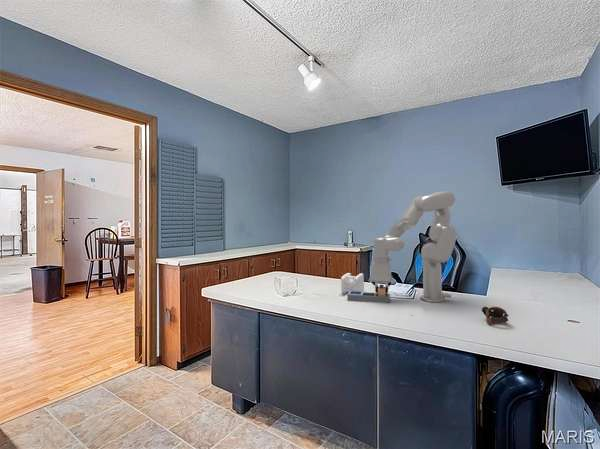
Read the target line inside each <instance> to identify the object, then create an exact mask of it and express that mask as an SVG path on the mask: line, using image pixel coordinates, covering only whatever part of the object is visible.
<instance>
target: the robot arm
mask: <svg viewBox="0 0 600 449" xmlns="http://www.w3.org/2000/svg"><path fill="white" fill-rule="evenodd" d="M455 202H456V195H455V194H454V193H453V192H452V191H449V190H444V191H437V192H433V193H431V194H428V195H419V196H416V197H415V198H414V199H413V200H412V201H411V202H410V204H409V206H408V207H407V209H406V210H405V211H404V214H403V215H402V216H401V218H399V220H397V222H395V223H394V224H393V225H392V226H391V227H390V229H389V230H388V231H387V233H386V234H385V236H384V237H383V236H381V237H375V238H374V239H373V262H372V266H371V267H372V268H371V275H370V277H369V278H368V282H370V283H371V284H372V285H373V286H374V289H375V290H374V291H375V292H374V293H377V294H378V287H379V286H378V283H379V282H382V283H383V282H384V283H385V286H384V287H385V294H386V295H387V293H389V287H390V286H391V285H392V284H394V283H395V282H396V280H395V278H394V277H393V275H392V268H391V263H390V262H391V261H392V258H390V257H389V251H392V252H399V251H401V250H403V249H404V247H405V241H404V240H403V239H402V238H401V236H402V235H403V234H404V233H405V232H407V231H409V230H411V229H413V228H414V227H416V225H418V222H419V221H420V220H421V218H422V216H423V215H424V214H425V212H426V213H427V212H428V213H429V212H433V219H432V222H431V225H430V229H429V232H428V237H429V239H431V240H432V241H434V242H428V243H425V244H424V245H423V246H422V247H421V253H420V255H421V258H422V276H423V277H422V285H423V286H422V287H423V289H422V293H423V294H422V295H420V300H421V301H424V302H427V303H444V302H445V301H446V299H445V298H450V299H451V298H452V294H451V293H446V292H445V293H444V292H443V290H442V288H443V286H442V285H443V280H442V278H443V277H442V274H443V273H442V272H443V270H442V263H446V262H448V261H449V260H450V259H451V256H452V253H453V251H454V247H455V244H456V241H457V231H456V228H455V227H454V226H452V225H450V221H451V218H452V215H451V211H450V207H452V206H453V205H454V204H455ZM435 242H436V243H435Z"/></svg>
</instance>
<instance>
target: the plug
mask: <svg viewBox="0 0 600 449" xmlns="http://www.w3.org/2000/svg"><path fill="white" fill-rule="evenodd" d="M385 287H386V286H385V285H384V284H379V286H378V296H383V297H386V294H385Z"/></svg>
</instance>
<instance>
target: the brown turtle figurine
mask: <svg viewBox="0 0 600 449" xmlns="http://www.w3.org/2000/svg"><path fill="white" fill-rule="evenodd" d="M481 311H482V313H483V315H484V317H485V318H486V324H487V325H488V324H490V325H489V326H491V325H501V324H502V323H505V322H509V319H508V317H510V315H509V314H508V313H507V311H506V310H505V309H503V308H502V307H499V306H491V307H488V306H483V307H481Z"/></svg>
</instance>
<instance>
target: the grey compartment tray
mask: <svg viewBox="0 0 600 449" xmlns="http://www.w3.org/2000/svg"><path fill="white" fill-rule="evenodd" d="M346 294H347V295H346V296H347V301H348V302H362V303H363V302H364V303H380V304H390V302H391V297H390V296H391V294H390V293H389V292H388V293H387V295H386V297H383V296H378V294H377V292H367V291H366V292H365V291H364V290H363V291H350V290H349V292H347V293H346Z"/></svg>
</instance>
